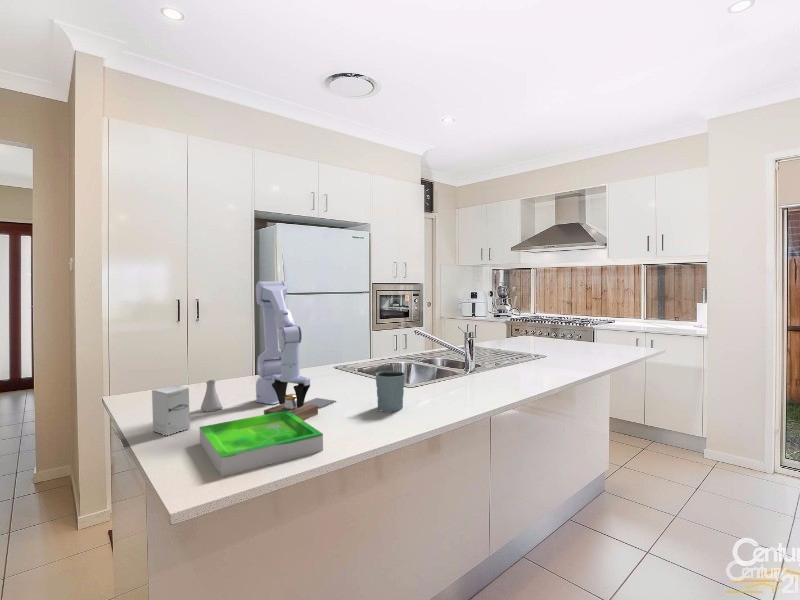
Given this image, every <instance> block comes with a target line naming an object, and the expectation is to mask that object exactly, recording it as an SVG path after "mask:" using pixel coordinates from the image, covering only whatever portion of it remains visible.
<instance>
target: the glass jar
mask: <svg viewBox="0 0 800 600" xmlns="http://www.w3.org/2000/svg"><path fill="white" fill-rule="evenodd" d="M295 409H298V407H297V400H296V393H289V394H286V395H285V410H290V411H292V410H295Z"/></svg>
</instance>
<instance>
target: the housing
mask: <svg viewBox="0 0 800 600" xmlns="http://www.w3.org/2000/svg"><path fill="white" fill-rule="evenodd" d="M282 411H287V410H285V403H283V404H278V405H275V406H273V407H269V408H267V409H264V410H263V415H266V414H271V413H277V412H282ZM288 411H289V412H291V413H292V414H294V415H295V416H297V417H298V418H300V419H302V420H303V421H306V420H308V419H310V417H311V418H312V417H315V416H317V415H319V408H318V405H313V404H307V403H304V404H303V406H302V407H298V409H295V410H292V411H290V410H288Z"/></svg>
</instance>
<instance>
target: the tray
mask: <svg viewBox="0 0 800 600" xmlns="http://www.w3.org/2000/svg"><path fill="white" fill-rule="evenodd" d="M198 429H199V444H200V445H201V447H202V448H204V449H203V451H204V452H205V451H206V454H207V456H208V458H209V459H210V461H211V462H212V464H213V466H214V467H215V468H216V470H217V471H218V473H219V475H220V476H221V477H224V476H229V475H232V474H236V473H242V472H244V471H248V470H252V469H257V468H260V466H261V467H264V465H265V466H269V465H272V464H271V463H273V464H276V463H275V462H277V463H280V462H284V461H287V460H291V459H295V458H300V457H304V456H308V455H312V454H316V453H318V452H322V451H323V452H324V435H323V434H324V433H322V432H321V431H319V430H318V429H316V428H315V427H314V426H312V425H310V424H309V423H308V422H306V420H304V421H303V420H302V419H300V418H298V417H297V416H295V415H294V414H292V413H291V412H289V411H288V410H287V411H282V412H277V413H271V414H266V415H264V414H262V415H256V416H251V417H245V418H239V419H235V420H228V421H225V422H218V423H214V424H209V425H202V426H199V428H198ZM279 461H280V462H279ZM268 464H269V465H268Z"/></svg>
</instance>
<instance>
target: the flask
mask: <svg viewBox="0 0 800 600" xmlns="http://www.w3.org/2000/svg"><path fill="white" fill-rule="evenodd" d="M216 382H217V381H216V379H208V380H205V383H206V389H205V394H204V397H203V400H202V403H201V405H200V408H201V409H200V411H201V410H202V411H201V412H205V411H206V412H205V413H209V411H210V412H215V411H219V410H222V409H223V408H224V406H223V405H222V403H221V401H220V398H219V396H218V393H217V390H216V389H217V388H216Z"/></svg>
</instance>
